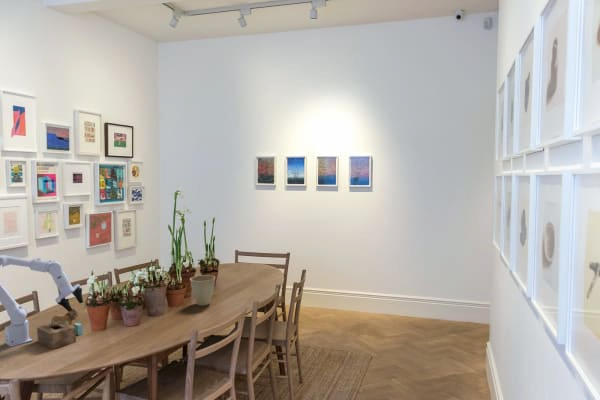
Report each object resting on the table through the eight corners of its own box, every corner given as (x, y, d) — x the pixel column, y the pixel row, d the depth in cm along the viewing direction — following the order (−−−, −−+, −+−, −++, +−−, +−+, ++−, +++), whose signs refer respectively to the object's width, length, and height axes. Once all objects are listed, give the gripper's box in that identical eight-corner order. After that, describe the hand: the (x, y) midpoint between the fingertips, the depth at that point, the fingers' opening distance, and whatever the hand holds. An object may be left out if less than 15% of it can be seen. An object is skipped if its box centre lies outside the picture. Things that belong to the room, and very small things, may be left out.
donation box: (51, 348, 202) (50, 334, 201) (37, 341, 212) (37, 326, 212) (75, 341, 210) (75, 327, 210) (61, 334, 221) (61, 320, 220)
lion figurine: (79, 322, 238) (78, 306, 237) (79, 325, 233) (79, 309, 233) (48, 327, 231) (47, 311, 230) (48, 331, 226) (47, 313, 225)
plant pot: (186, 306, 263) (185, 280, 262) (197, 299, 278) (197, 274, 277) (209, 308, 260) (208, 281, 259) (219, 300, 274) (219, 275, 273)
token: (78, 335, 219) (78, 325, 218) (74, 333, 222) (73, 323, 221) (82, 334, 220) (82, 324, 220) (78, 332, 223) (77, 322, 223)
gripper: (57, 289, 211) (71, 313, 215) (79, 275, 224) (91, 297, 228) (47, 292, 214) (60, 316, 217) (69, 277, 227) (82, 300, 230)
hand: (76, 306), depth 223 cm, fingers open, 7 cm apart
